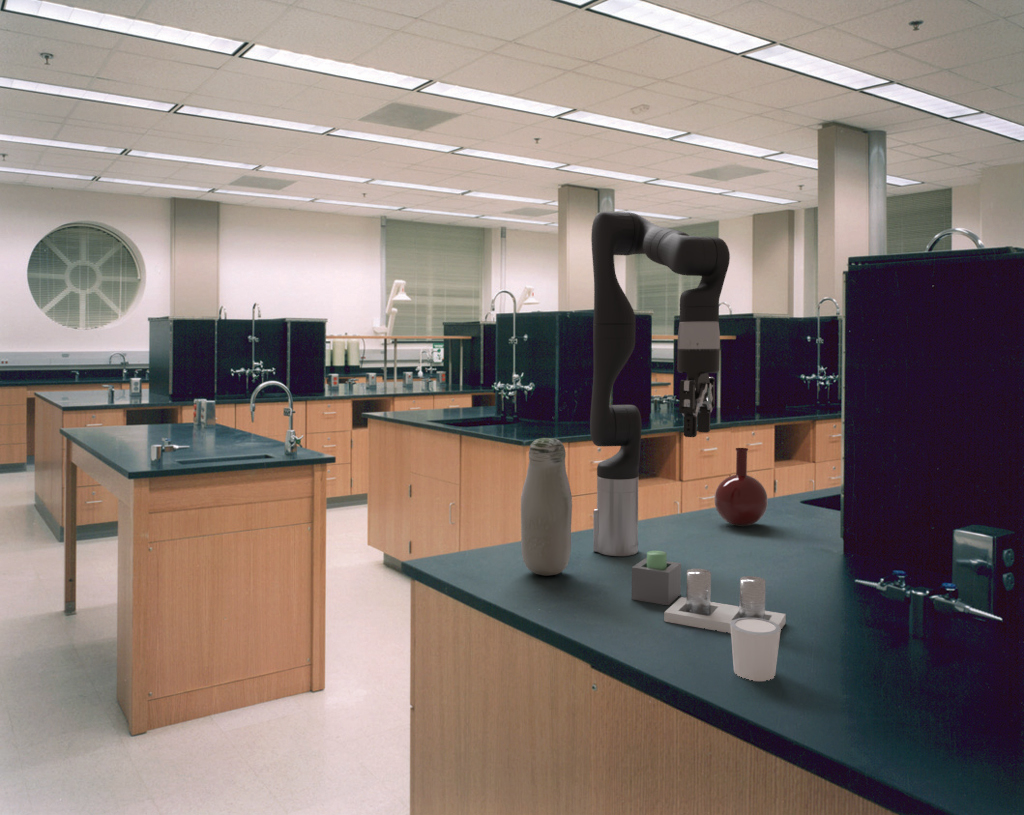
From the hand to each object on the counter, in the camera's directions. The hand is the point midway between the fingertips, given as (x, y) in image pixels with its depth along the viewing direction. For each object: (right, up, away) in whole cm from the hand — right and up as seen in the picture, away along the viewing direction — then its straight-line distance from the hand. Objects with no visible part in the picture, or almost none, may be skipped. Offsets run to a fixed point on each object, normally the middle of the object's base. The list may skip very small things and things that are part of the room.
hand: (697, 434), depth 144 cm
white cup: (0, -33, -33) cm, 47 cm away
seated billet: (+5, -31, -15) cm, 35 cm away
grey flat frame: (+1, -31, -13) cm, 34 cm away
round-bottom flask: (+25, -26, +56) cm, 67 cm away
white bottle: (-27, -29, +15) cm, 43 cm away
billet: (-2, -31, -11) cm, 33 cm away
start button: (-8, -28, 0) cm, 29 cm away
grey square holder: (-8, -30, 0) cm, 31 cm away
